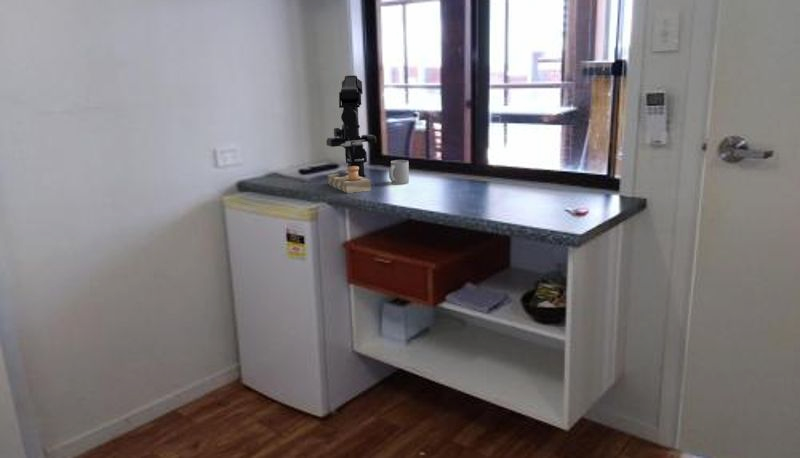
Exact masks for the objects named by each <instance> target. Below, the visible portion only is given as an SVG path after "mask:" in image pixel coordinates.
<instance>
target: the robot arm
mask: <svg viewBox="0 0 800 458" xmlns="http://www.w3.org/2000/svg"><path fill="white" fill-rule="evenodd" d="M362 95H363V81H362V80H360V79H359V78H358V75H356V74H355V75H346V76H344V79H343V80H342V81H341V88H340V91H339V92H338V100H339V101H338V104H339V105H338V106H339V107H338V108H339V109H343V110H342V113H341V116H340V117H341V121H342V122H343V123H342V125H341V129H340V128H339V127H335V128H334V129H333V137H327V139H326V140H325V141H326V142H325V143H326V146H327V147H332V148H334V147H342V148H344V149H345V151H344V152H345V153H344V155H345V164H347V166H346V168H347V167H349V166H358V167H359V170H358V176H361V177H363V178H365V177H367V175H366V174H365V163H368V158H367V156H368V155H367V151H366V149H365V148H364V144H363V143H365V142H367V143H368V144H376V143H377V136H375V135H374V134H362V135H361V136H360V128H361V127H360V123H359V108H360V107H361V106H362Z"/></svg>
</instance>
